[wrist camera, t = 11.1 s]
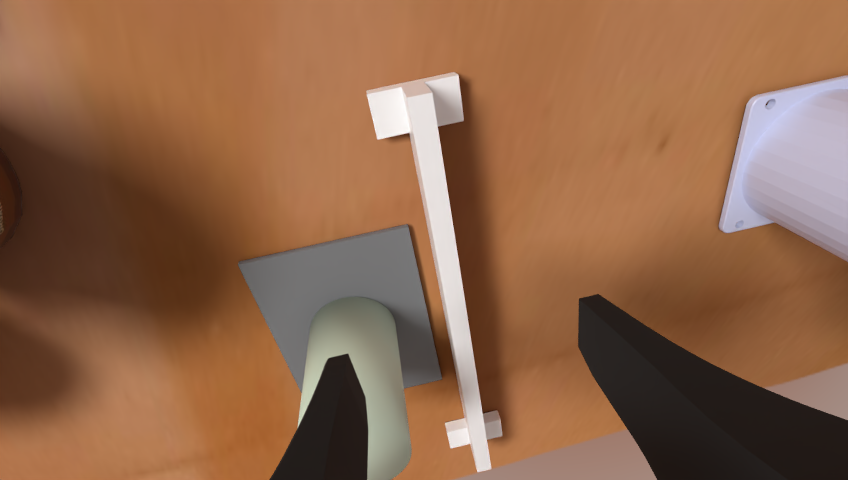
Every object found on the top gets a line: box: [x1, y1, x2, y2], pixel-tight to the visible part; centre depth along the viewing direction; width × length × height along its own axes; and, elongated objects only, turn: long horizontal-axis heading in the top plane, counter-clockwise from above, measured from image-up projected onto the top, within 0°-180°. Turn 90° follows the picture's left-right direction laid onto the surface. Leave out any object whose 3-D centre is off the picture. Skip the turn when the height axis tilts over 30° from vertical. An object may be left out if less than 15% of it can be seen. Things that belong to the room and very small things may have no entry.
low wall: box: [367, 72, 503, 472], centre depth 24 cm, size 4×26×3 cm, turn 10°
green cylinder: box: [298, 297, 411, 480], centre depth 21 cm, size 5×5×8 cm
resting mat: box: [238, 224, 442, 393], centre depth 25 cm, size 9×12×1 cm
